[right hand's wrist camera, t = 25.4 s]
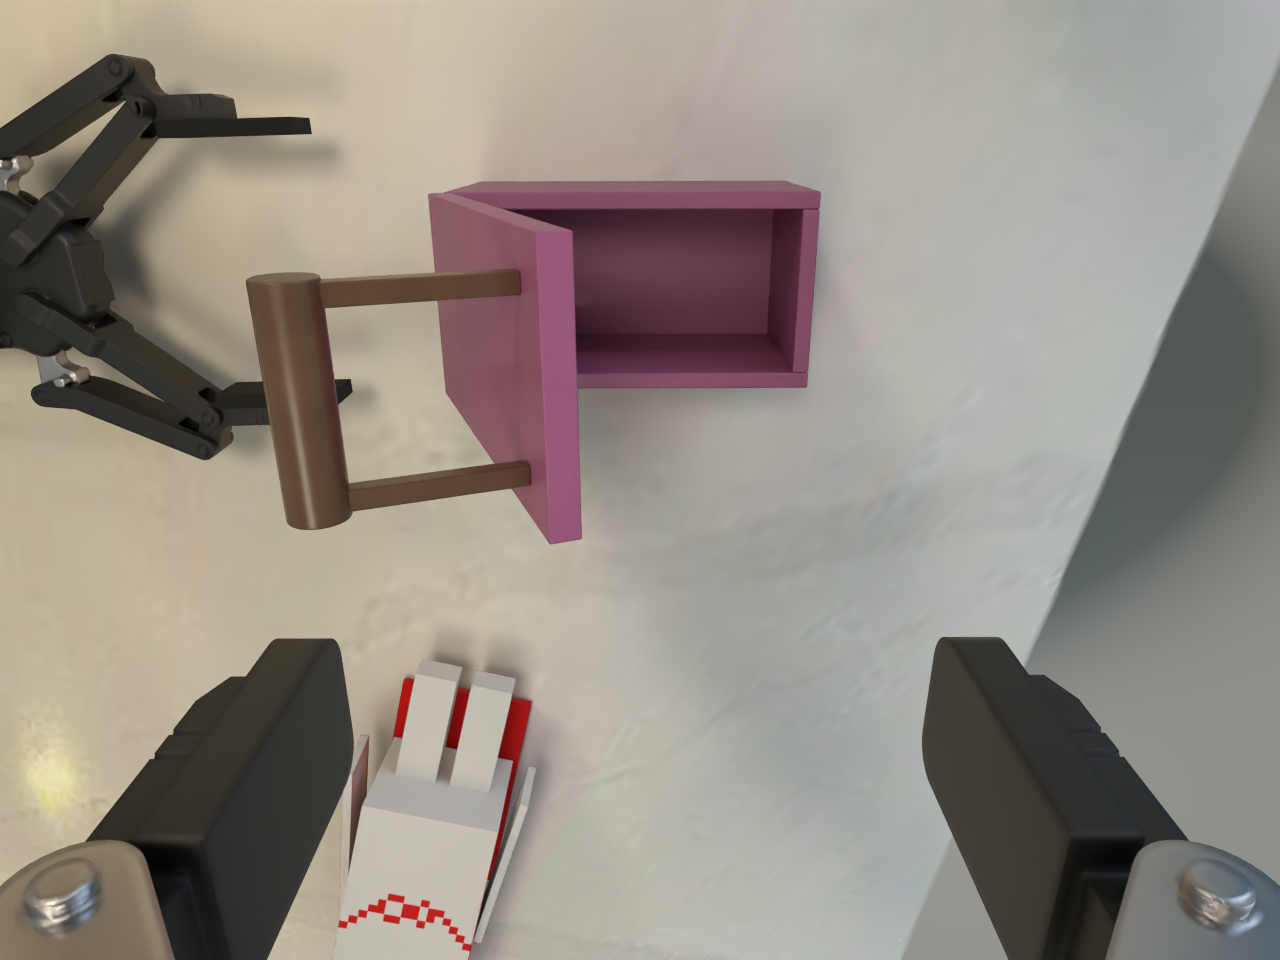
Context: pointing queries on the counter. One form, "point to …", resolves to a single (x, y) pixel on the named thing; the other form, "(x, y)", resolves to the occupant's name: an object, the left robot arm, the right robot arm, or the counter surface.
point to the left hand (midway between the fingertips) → (324, 266)
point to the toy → (432, 820)
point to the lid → (473, 369)
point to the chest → (682, 277)
